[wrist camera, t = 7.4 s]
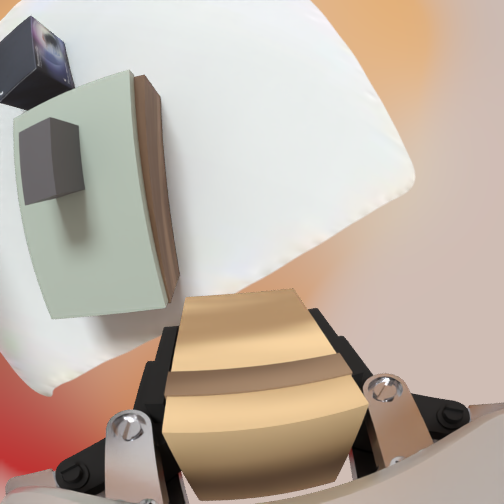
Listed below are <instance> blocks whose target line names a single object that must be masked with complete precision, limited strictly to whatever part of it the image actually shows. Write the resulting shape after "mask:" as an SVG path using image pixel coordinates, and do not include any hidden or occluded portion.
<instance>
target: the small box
mask: <svg viewBox="0 0 504 504" xmlns="http://www.w3.org/2000/svg"><path fill="white" fill-rule="evenodd" d="M72 89H75V87H74V83H73V79H72V75H71V71H70V67H69V63H68V58H67V54H66V49H65V44H64V42H63V41H62V40H60V39H59V38H58V37H57V36H55V35H54V34H53V33H52V32H51V31H49V30H48V29H47V28H46V27H44V26H43V25H42V24H41V23H40V22H38V21H37V20H36V19H35V18H33V17H32V16H30V17H28V18H27V19H26V20H24V21H23V22H22V23H21V24H20V25H18V26H17V27H16V28H15V29H14V30H13V31H12V32H11V33H9V34H8V35H7V36H6V37H5V38H4V39H3V40H2V41H1V42H0V103H1V104H6V105H9V106H13V107H17V108H20V109H24V110H27V111H28V110H30V109H32V108H34V107H36V106H38V105H40V104H42V103H44V102H46V101H48V100H50V99H52V98H54V97H56V96H58V95H61V94H63V93H65V92H67V91H70V90H72Z"/></svg>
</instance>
